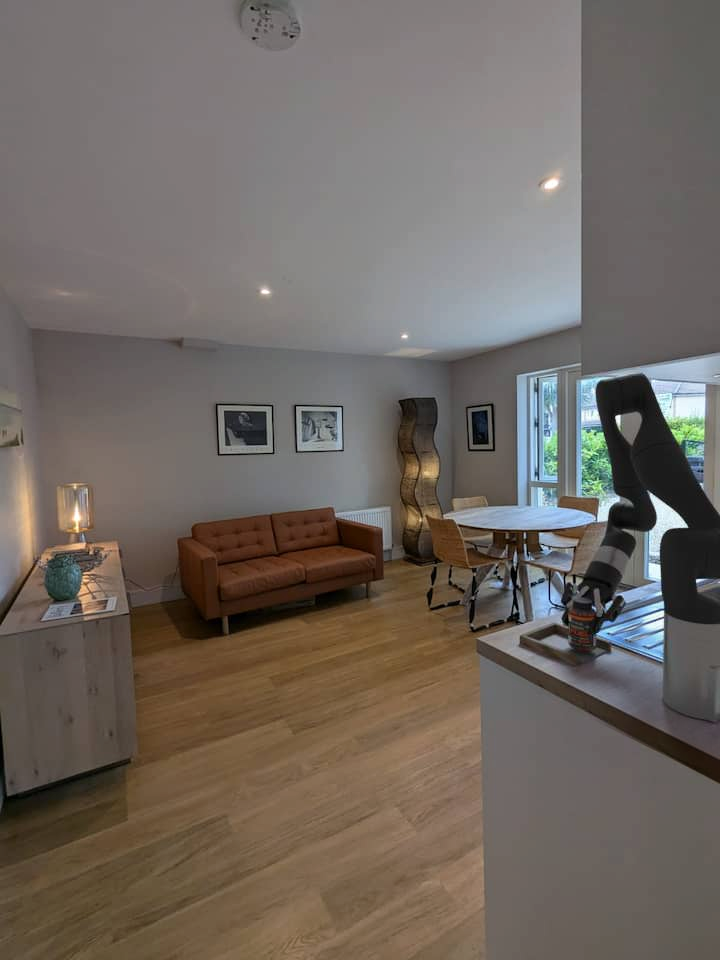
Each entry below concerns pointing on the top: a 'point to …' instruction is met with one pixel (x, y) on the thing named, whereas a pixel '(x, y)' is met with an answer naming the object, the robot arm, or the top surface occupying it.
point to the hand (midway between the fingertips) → (578, 628)
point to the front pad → (586, 654)
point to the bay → (567, 657)
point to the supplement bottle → (581, 625)
